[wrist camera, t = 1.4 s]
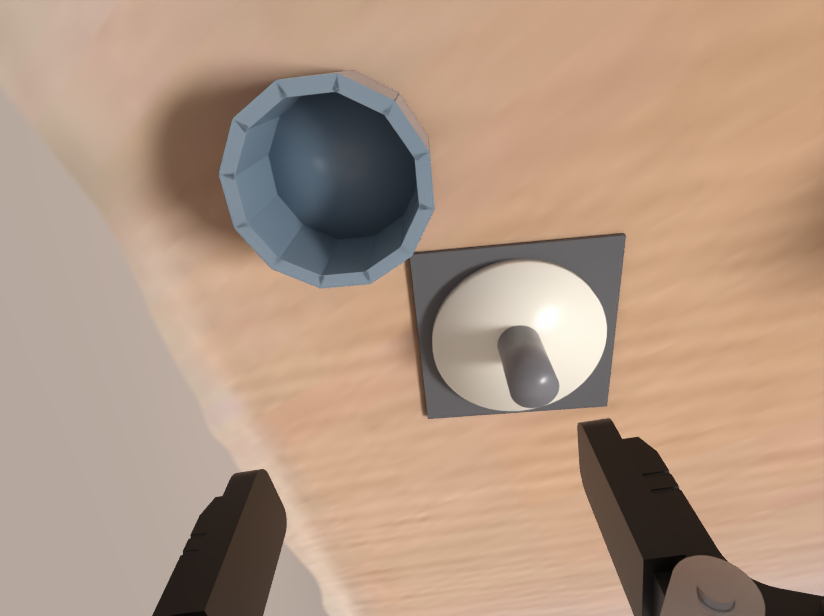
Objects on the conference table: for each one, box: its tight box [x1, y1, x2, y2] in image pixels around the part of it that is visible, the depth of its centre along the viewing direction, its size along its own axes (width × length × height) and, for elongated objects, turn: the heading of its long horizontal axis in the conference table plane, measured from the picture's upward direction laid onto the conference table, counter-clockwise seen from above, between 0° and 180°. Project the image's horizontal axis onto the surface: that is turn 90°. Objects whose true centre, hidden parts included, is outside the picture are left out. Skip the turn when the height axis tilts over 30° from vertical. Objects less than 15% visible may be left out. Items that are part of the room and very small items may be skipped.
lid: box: [432, 258, 607, 411], centre depth 34 cm, size 13×13×6 cm
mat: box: [410, 233, 626, 419], centre depth 37 cm, size 15×15×1 cm
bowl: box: [219, 70, 435, 288], centre depth 28 cm, size 11×11×7 cm
